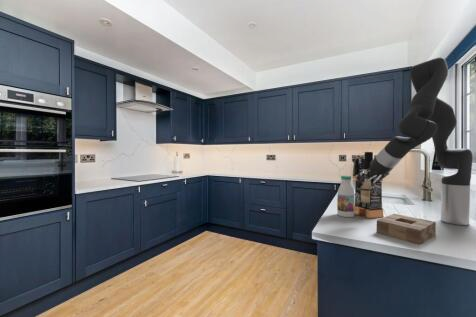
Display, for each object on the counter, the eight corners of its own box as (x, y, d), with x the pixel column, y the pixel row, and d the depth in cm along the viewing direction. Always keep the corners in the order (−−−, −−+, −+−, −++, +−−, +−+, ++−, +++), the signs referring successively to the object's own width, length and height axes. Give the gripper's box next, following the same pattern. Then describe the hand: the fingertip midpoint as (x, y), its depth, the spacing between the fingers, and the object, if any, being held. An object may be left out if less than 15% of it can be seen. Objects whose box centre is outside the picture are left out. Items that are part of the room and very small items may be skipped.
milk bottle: (339, 212, 117) (339, 174, 117) (355, 215, 113) (355, 175, 112) (335, 216, 111) (336, 176, 110) (353, 218, 106) (353, 177, 106)
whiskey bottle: (367, 218, 106) (368, 151, 105) (352, 213, 116) (352, 151, 115) (384, 217, 109) (385, 151, 108) (368, 211, 119) (368, 151, 118)
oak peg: (362, 200, 101) (362, 169, 101) (372, 201, 98) (373, 170, 97) (357, 201, 99) (357, 170, 98) (368, 203, 95) (368, 170, 95)
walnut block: (393, 225, 97) (393, 213, 97) (435, 234, 85) (435, 221, 85) (376, 232, 88) (376, 220, 88) (420, 244, 76) (420, 230, 76)
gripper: (394, 153, 92) (369, 179, 104) (365, 153, 88) (344, 180, 101) (406, 166, 87) (379, 192, 99) (377, 168, 83) (352, 194, 96)
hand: (361, 186), depth 100 cm, fingers closed on oak peg, 4 cm apart
